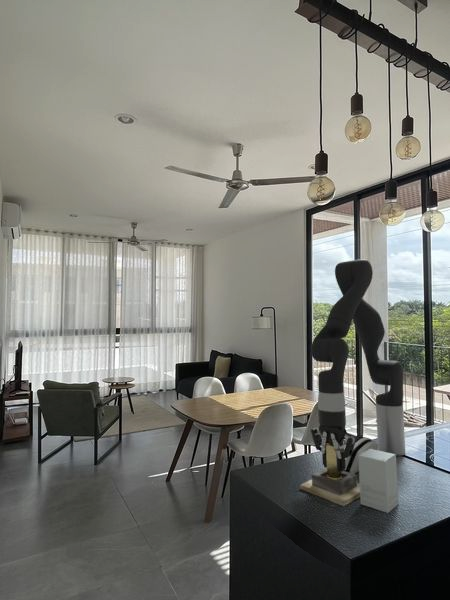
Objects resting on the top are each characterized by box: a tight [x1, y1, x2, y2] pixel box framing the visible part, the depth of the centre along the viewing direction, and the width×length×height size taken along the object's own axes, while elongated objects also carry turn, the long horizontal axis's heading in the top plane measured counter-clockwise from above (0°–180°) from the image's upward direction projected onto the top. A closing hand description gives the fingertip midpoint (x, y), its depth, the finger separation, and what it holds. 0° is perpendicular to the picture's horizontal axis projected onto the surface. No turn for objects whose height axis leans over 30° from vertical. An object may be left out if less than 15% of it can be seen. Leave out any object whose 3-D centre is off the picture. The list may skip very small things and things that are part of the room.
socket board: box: [299, 467, 360, 507], centre depth 105 cm, size 13×14×4 cm
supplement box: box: [358, 449, 400, 514], centre depth 97 cm, size 7×7×13 cm
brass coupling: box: [326, 443, 342, 480], centre depth 106 cm, size 4×4×10 cm
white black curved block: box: [344, 437, 378, 475], centre depth 123 cm, size 17×5×10 cm, turn 136°
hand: (333, 468), depth 106 cm, fingers closed on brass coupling, 4 cm apart
